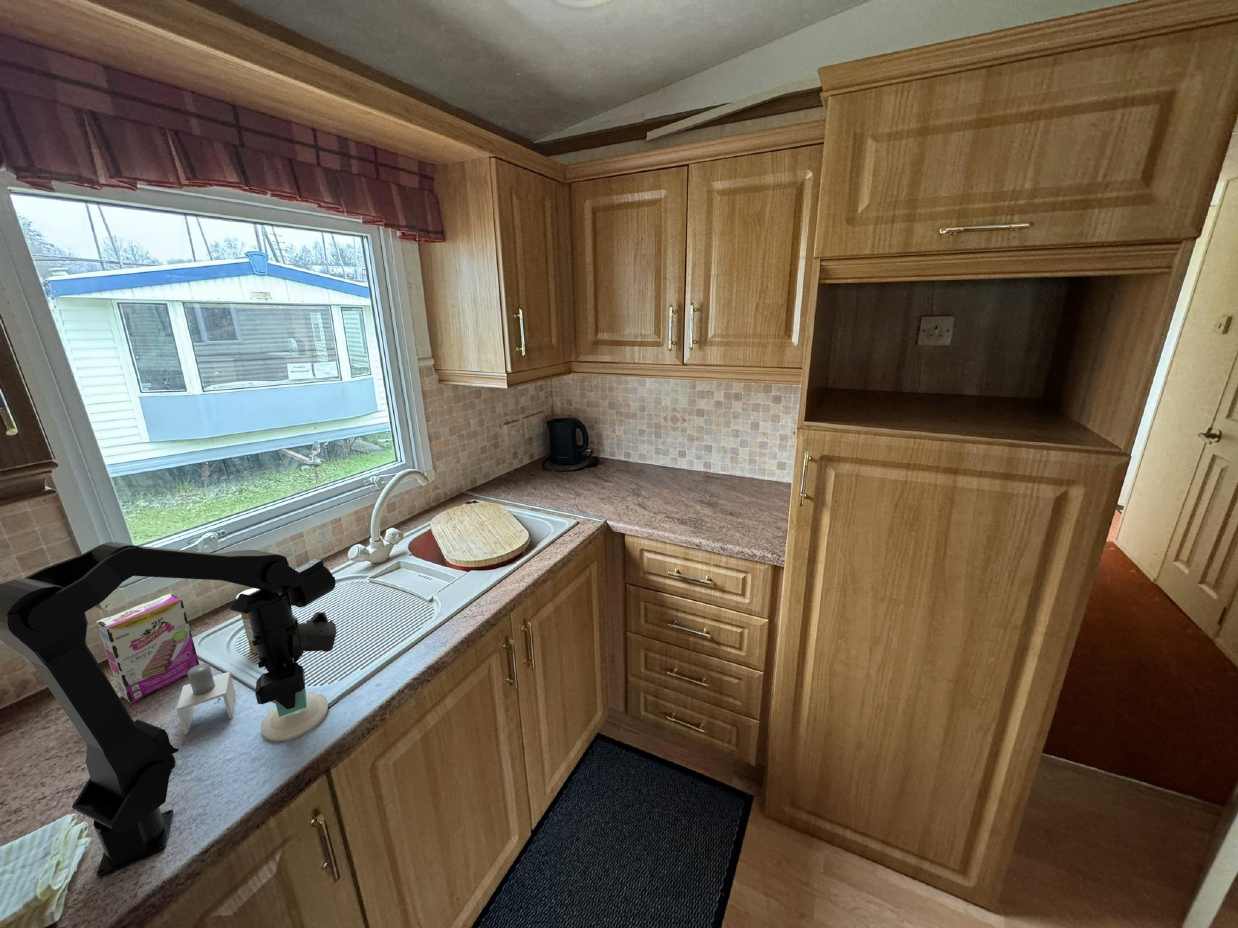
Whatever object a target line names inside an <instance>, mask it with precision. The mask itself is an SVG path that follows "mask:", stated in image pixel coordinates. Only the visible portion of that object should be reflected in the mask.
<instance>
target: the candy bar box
mask: <svg viewBox="0 0 1238 928" xmlns="http://www.w3.org/2000/svg"><path fill="white" fill-rule="evenodd" d="M95 623H96V627H97V631H98V633H99V636H100V639H101V643H102V646H103V648H104V652H105V654H106V657H107V660H108V662H109V667H110V669H111V672H112V673H111V674H112V675H113V676H112V677H113V678H114V682H115V685H116V688H117V691H118V694H119V697H121V698H123V699H125V701H126V702H128V703H129V704H134V703H136V702H138V701H140V700H142V699H143V698H145V697H147V696H149V695H151V694H153V693H155V692H157V691H158V690H160V689H161V690H162V689H163V688H165V687H167V686H169V685H171V684H173V683H175V682H176V681H179V680H180V679H182V678H185V677H186V676H188V674H187V672H188V671H189V670H190V669H191V668H193V667H195V666H197V665H200V664H201V663H200V661H199V658H198V655H197V650H196V647H195V643H194V640H193V639H194V638H193V635H192V632H191V628H190V625H189V621H188V616H187V614H186V608H185V605H184V603H183V599H182V598H181V597H179V596H176V595H174V594H172V593H167V594H164V595H163V596H162V595H161V596H159V597H157V598H154V599H152V600H149V601H147V602H144V603H141V604H139V605H136V606H134V607H131V608H128V609H126V610H122V611H120V612H117V613H114V614H111V615H109V616H106V617H104V618H100V619H98V620H97V621H95Z"/></svg>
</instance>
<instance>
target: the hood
mask: <svg viewBox="0 0 1238 928" xmlns="http://www.w3.org/2000/svg"><path fill="white" fill-rule="evenodd" d="M199 664H200V665H197V666H195V667H193V668H191V669H190V670H189V671H188V672H187V674H188V675H187V677H188V680H189V683H188V684H184V685H182V689H181V692H180V695H179V699H178V702H177V706H176V712H177V716H178V718H179V721H180V724H181V727H182V731H183V734H184V735H186V734H189V733H190V728H191V725H192V720H193V717H194V712H195V706H197V705H201V704H204V703H207V702H210V701H213V700H216V699H219V698H223V702H224V704H225V708H226V711H227V716H228V718H229V719H232V718H234V713H235V712H234V711H235V706H236V699H237V693H236V690H235V685H234V683H233V678H232V676H231V672H230V671H227V672H224V673H221V674H218V675H214V676H213V672H212V669H211V666H210V664H209V663H199Z"/></svg>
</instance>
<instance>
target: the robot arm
mask: <svg viewBox="0 0 1238 928" xmlns="http://www.w3.org/2000/svg"><path fill="white" fill-rule="evenodd" d="M133 577H143V578H145V577H146V578H148V577H149V578H165V579H166V578H168V579H169V578H170V579H186V580H189V579H190V580H203V581H204V580H205V581H206V580H208V581H210V580H211V581H220V582H221V581H222V582H225V583H228V584H229V583H230V584H234V585H239V586H243V587H248V588H250V589H253V588H256V589H259V590H257V591H255V592H253V593H251V594H249V595H246V594H240V595H239V597H238V599H237V600H235V601H233V603H232V604H231V605H230V607H229V611H232V612H236V613H240V614H241V613H244V614H248V616H249V620H250V624H251V628H252V632H253V638H252V642H253V646H256V648H257V652H258V653H257V655H258V658H257V666H258V668H259V669H260V668H263V667H264V668H265V669H266V670H267V672H265V673H262V674H261V675H260V676H259V678H258V679H257V680H256V682H255V683H256V684H255V693H254V695H255V699H256V701H257V702H256V703H257V704H258V705H265V704H267V703H270V702H271V703H272V702H273V701H274V702H275V700H276V701H277V702H278V703H280V704H281V705H282V706H284V707H285V708H286V709H291V708H294V707H295V695H296V693H297V692H300V691H302V690H303V689H304V688H305V689H306V679H305V676H306V675H305V674H306V673H305V668H304V667H303V665H300V664H299V662H298V661H299V660H300V658H301V657H303V654H305V653H304V652H324V653H327V652H331V651H333V648H334V645H335V641H336V637H337V633H338V632H337V626H336V623H335V622H334V621H333V620H332V619H330V620H329V619H328V616H327V613H326V612H324V611H321V612H320V611H319V612H318V611H316V612H315V613H314V615H312V617H311V618H310V619H309V620H306V621H305V622H301V623H299V621H298V617H297V616H295V615H294V614H293V609H292V607H293V606H295V607H297V608H299V609H301V608H304V607H307V606H308V605H310V604H312V603H314V602H315V601H317V600H319V599H321V598H322V597H324V596H326V595H327V594H329V593H331V592H332V591H333V590H335V589H336V584H337V583H336V578H335V576H333V574H332V572H331V571H330V570H329V569H328V568H327V567H326V566H325V565H324V561H323V560H321V559H316V558H312V559H311V560H309V561H308V562H306V563H305V564H303V565H301V566H299V567H297V568H295V569H294V568H293V567H291V566H290V565H289V561H288V558H287V557H286V556H285V555H282V554H280V553H279V554H277V553H272V552H267V551H262V550H258V549H257V550H256V549H246V550H245V549H243V550H242V549H241V550H240V549H239V550H231V551H226V552H217V553H214V552H213V553H212V552H204V551H194V550H193V551H192V550H183V549H174V548H161V547H155V546H154V547H153V546H152V547H151V546H144V545H134V544H129V543H125V542H120V541H108V542H105V543H102V544H100V545H99V544H98V545H97V546H95V547H93V548H91V549H89V550H87V551H86V552H84V553H82V554H79V555H76V556H74V557H72V558H71V557H70V558H68V559H66V560H62V561H59V562H57V563H53V564H51V565H49V566H46V567H43V568H42V569H41V568H40V569H39V570H37V571H35V572H33V573H32V574H29V575H27V576H25V577H23V578H17V579H12V580H9V581H5V582H2V583H0V641H1V642H3V643H4V644H6V645H7V646H8V647H10V648H12V649H13V650H15V652H17V653H18V654H20V655H22V656H23V657H25V659H27V660H28V661H30V663H31V664H32V666H33V668H34V669H35V670H36V672H37V673H38V674H39V677H41V679H42V680H43V682H44V684H45V685H46V686H47V687H48V689H49V691H50V693H51V694H52V695H53V697H54V698H55V699H56V701H57V702H58V704H59V706H60V707H61V708H62V710H63V711H64V713H65V715H66V716H67V717H68V719H69V720H70V722H71V723H72V725H73V726H74V727H75V729H76V730H77V733H79V735H80V736H81V738H82V740H83V741H84V742H85V744H86V756H85V764H86V767H87V770H88V771H87V772H88V775H89V779H88V780H87V782H86V783H85V785H84V787H83V788H82V790H81V791H80V793H79V795H78V796H77V798H76V799H75V800H74V802H73V804H72V805H71V809H72V810H74V811H76V812H78V813H79V814H82V815H83V816H86V817H88V818H90V819H92V820H93V829H95V832H96V835H97V837H98V840H99V842H100V844H101V845H100V846H102V847H101V848H102V849H103V851H104V852H103V855H102V857H101V860H100V863H99V865H98V867H97V870H96V877H97V878H102V877H105V876H107V875H109V874H111V873H114V872H115V871H116V872H117V871H118V870H120V869H123V868H125V867H127V866H130V865H132V864H135V863H137V862H140V861H143V860H144V859H146V858H148V857H150V856H153V855H155V854H157V853H160V852H162V851H163V850H165V848H166V846H167V844H168V843H167V842H168V839H169V834H170V830H171V825H172V821H173V818H174V815H175V812H174V810H173V809H168V810H166V811H163V812H162V811H161V808H160V807H161V806H162V805H164V804H165V803H166V801H167V796H168V790H169V789H168V788H169V784H170V783H169V781H170V777H171V774H172V772H173V770H174V769H175V767H176V764H177V761H176V758H175V755H174V754H176V753H178V751H179V749H178V748H176V747H174V746H173V745H172V744H171V741H170V738H169V734H168V733H167V731H166V729H164V728H162V727H159V726H157V725H154V724H152V723H148V722H146V721H143V720H140V719H139V718H138V719H135V720H134V719H133V718H132V715H130V713H129V711H128V710H127V708H126V707H125V705H124V703H123V702H122V700H121V698H120V696H119V695H118V693H117V691H116V690H115V688H114V687H113V685H112V684H111V682H110V680H109V678H108V677H107V675H106V673H105V672H104V671H103V669H102V668H101V666H100V663H99V662H98V661H97V659H96V658H95V656H94V654H93V652H92V651H91V650H90V648H89V646H88V643H87V636H88V628H89V627H88V626H89V622H88V618H87V615H86V612H88V611H89V610H91V609H93V608H94V607H97V606H98V605H100V604H101V603H102V602H104V601H105V600H106V599H107V598H108V597H109V596H110V595H111V594H112V593H113V592H114V591H115V590H116V589H118V587H119V586H120V585H121V584H123V583H124V582H126V581H127V580H129V579H130V578H133Z"/></svg>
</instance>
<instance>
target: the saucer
mask: <svg viewBox="0 0 1238 928" xmlns="http://www.w3.org/2000/svg"><path fill="white" fill-rule="evenodd" d="M306 702H307V707H306V708H303V709H300V710H298V711H295V712H292V713H289V714H286V715H284V716H281V717H279V715H278V711H277V707H276V706H275V707H273V708H272V709H271V710H269V711H268V713H266V715H264V717H263V719H262V720H261V722H260V731H261V734H262V737H263V738H264V739H265V740H267V741H269V742H278V743H279V742H287V741H290V740H293V739H295V738H299V737H301V736H303V735H305V734H307V733H308V732H311V731H312V730H313V729H315V728H316V727H318V725H319V724H320V723H321V722H322V721H323V720H324V719H325V718H326V716H327V715H328V712H329V709H328V706H329V703H328V699H327V697H326V696H324V695H323V694H320V693H314V692H310V693H306Z"/></svg>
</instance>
